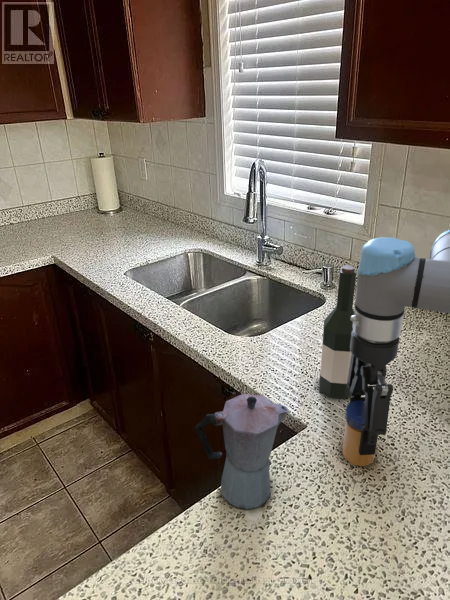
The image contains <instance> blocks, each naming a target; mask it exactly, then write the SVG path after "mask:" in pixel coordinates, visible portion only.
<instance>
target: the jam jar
mask: <svg viewBox="0 0 450 600" xmlns="http://www.w3.org/2000/svg"><path fill="white" fill-rule="evenodd" d="M344 423H345V424H344V430H343V431H344V432H343V440H342V449H341V450H342V451H341V454H342V456H343V458H344V459H345V460H346V461H347V462H348V463H349V464H352V465H354V466H358V467H366V466H370V465H371V464H373V463H374V461H375V459H376V454H377V453H376V452H377V450H376V451H375V454H374V455H360V454H359V446H360V439H361V432H362V431H360V430H357V429H355V428H353V427H352V426H350V425H349V424H348V423H347V421H346V420H345V422H344ZM378 441H379V438H378V439H377V442H378ZM377 446H378V444H377V445H376V448H377Z"/></svg>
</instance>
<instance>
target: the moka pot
mask: <svg viewBox="0 0 450 600" xmlns="http://www.w3.org/2000/svg"><path fill="white" fill-rule="evenodd" d="M290 412H291V411H290V410H289V408H288V407H287V406H286V405H283V404H280V403H274V402H272V400H270V398H268V397H267V396H265V395H261V394H260V395H259V394H251V393H241V394H239V395H237V396H235V397H233V398H231V399H230V398H229V399H228V400H226V401H225V403H224V407H223V410H222V411H221V410H220V411H216V412H214V413H207V414H206V415H205V416H204V417H203V418H202V420H200V421H199V422H198V423H197V424H196V425H195V427H194V430H195V435H196V436H197V438H198V439H199V442H200V443H201V446H202V447H203V449H204V452H205V454H206V455H207V458H208V459H210V460H215V459H221V458H222V456H223V452H221V451H216V452H214V451H213V449H212V447H211V444H210V441H209V439H208V436H207V434H206V431H205V429H204V428H205V427H206V426H208V425H213V426H222V434H223V441H224V449H225V456H226V457H225V462H224V466H223V472H222V474H221V475H222V476H221V480H220V481H221V482H220V494H221V495H222V497H223V498H224V500H226V501H227V502H228V503H229V505H231V506H232V507H233V506H234V507H236V508H239V509H244V510H250V509H255V508H259V507H261V506H262V505H264V504H265V503H266V501H267V500H268V499H269V497H270V496H271V477H270V466H271V465H272V460H271V459H270V457H271V454H272V451H273V446H274V443H275V439H276V436H277V430H278V427H279V426H280V424H281V423H282V421H283V419H284V418H285V416H286V415H287V414H288V413H290Z"/></svg>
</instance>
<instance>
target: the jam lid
mask: <svg viewBox="0 0 450 600" xmlns="http://www.w3.org/2000/svg"><path fill="white" fill-rule="evenodd" d="M344 419H345V422H346V421H347V423H348V424H349V425H350V426H352V427H353V428H355V429H357V430H360V431H362V429H361V425H363V424H365V401H362V400H358V401H353V402H351V403H350V402H349V403H348V404H347V405H346V407H345V411H344Z"/></svg>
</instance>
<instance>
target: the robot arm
mask: <svg viewBox="0 0 450 600" xmlns="http://www.w3.org/2000/svg"><path fill="white" fill-rule="evenodd" d="M360 254H361V255H360V259H359V265H358V269H357V277H356V287H355V301H354V308H353V310H354V315H352V316H351V321H353V330H352V332H351V341H350V351H351V353H352V355H351V361H350V368H349V374H348V380H347V386H348V387H351V388H350V391H349V393H350V396H349V397H350V398H349V403H351V402H353V401H358V400H362V401H365V424H363V425H361V429H362V432H361V439H360V446H359V454H360V455H374V454H375V455H376V453H375V451H376V452H377V447H376V445H377V446H378V441H377V439H378V440H379V435H386V434H387V429H388V422H389V421H388V420H389V411H390V405H391V397H392V394H393V391H394V387H393V384H391V383H388V384H387V381H386V377H387V366H388V364H389V363H391V362H392V361H394V360H395V359H396V357H397V356H398V352H399V351H398V350H399V345H400V337H401V333H402V328H403V322H404V318H405V310H406V309H405V307H407V308H412V309H413V308H414V309H421V310H426V311H430V312H431V311H432V312H438V313H443V314H449V315H450V229H447V230H445V231H443V232H442V233H441V234H439V236H437V238H436V239H435V240H434V242H433V245H432V247H431V250H430V254H429V258H424V257H420V256H419V257H418V256H416V254H415V246H414V245H413V244H412V243H411V242H409V241H407V240H404V239H399V238H398V237H397V238H396V237H376V238H373V239H369V240H368V241H366V243H364V245H362V248H361V253H360ZM352 380H353V381H352Z"/></svg>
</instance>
